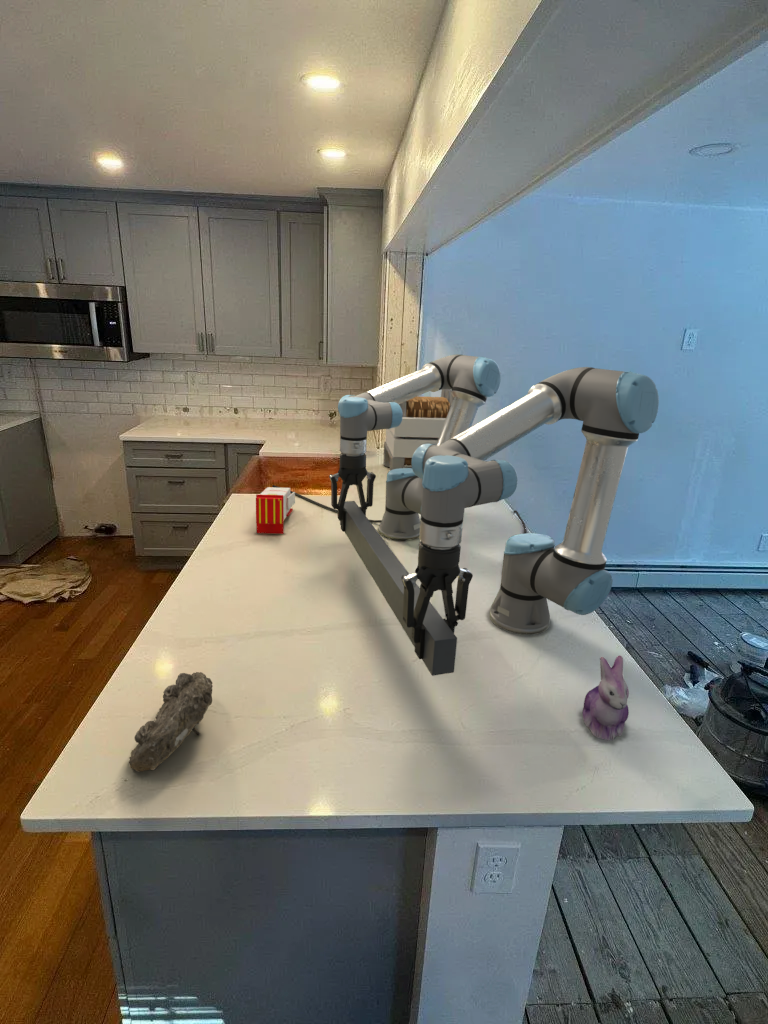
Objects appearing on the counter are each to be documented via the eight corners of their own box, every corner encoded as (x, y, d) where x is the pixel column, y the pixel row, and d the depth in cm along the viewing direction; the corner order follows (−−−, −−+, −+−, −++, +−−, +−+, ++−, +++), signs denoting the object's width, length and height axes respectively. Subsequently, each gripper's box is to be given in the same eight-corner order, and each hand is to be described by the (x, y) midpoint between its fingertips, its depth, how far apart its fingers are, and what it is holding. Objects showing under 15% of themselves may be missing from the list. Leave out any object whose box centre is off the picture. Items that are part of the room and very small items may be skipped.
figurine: (608, 750, 104) (623, 681, 99) (567, 715, 113) (579, 651, 107) (643, 734, 108) (659, 668, 103) (601, 702, 117) (614, 640, 112)
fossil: (162, 673, 113) (214, 640, 108) (196, 704, 116) (248, 673, 111) (102, 765, 93) (163, 730, 88) (145, 799, 96) (206, 767, 91)
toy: (297, 482, 219) (286, 496, 190) (297, 516, 222) (286, 535, 193) (265, 481, 219) (249, 495, 189) (265, 515, 221) (250, 534, 192)
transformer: (382, 463, 289) (386, 382, 275) (445, 464, 293) (451, 384, 279) (390, 482, 257) (394, 392, 243) (460, 483, 261) (468, 394, 247)
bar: (339, 524, 174) (340, 501, 171) (353, 523, 175) (354, 500, 173) (431, 676, 104) (434, 641, 101) (454, 672, 105) (457, 637, 103)
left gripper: (325, 457, 155) (325, 536, 163) (386, 455, 160) (383, 531, 168) (319, 451, 162) (319, 527, 170) (378, 448, 167) (375, 522, 175)
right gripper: (400, 555, 96) (394, 671, 104) (493, 546, 101) (481, 657, 109) (387, 538, 103) (382, 648, 111) (475, 530, 108) (464, 636, 116)
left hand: (351, 529), depth 169 cm, fingers closed on bar, 4 cm apart
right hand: (431, 652), depth 110 cm, fingers closed on bar, 4 cm apart
